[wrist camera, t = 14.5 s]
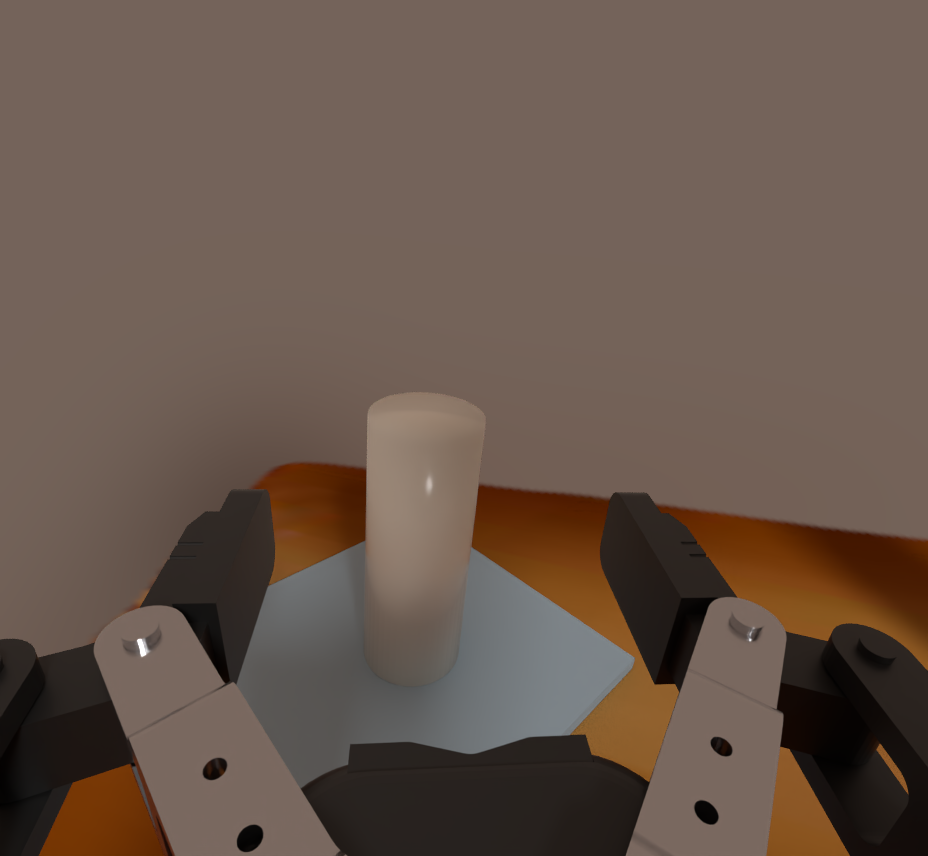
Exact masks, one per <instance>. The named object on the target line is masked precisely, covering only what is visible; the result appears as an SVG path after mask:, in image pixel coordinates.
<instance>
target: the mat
mask: <svg viewBox="0 0 928 856" xmlns="http://www.w3.org/2000/svg"><path fill="white" fill-rule="evenodd" d="M365 542H366V541H364V542H361V543H359V544H357V545H355V546H353V547H351V548H349V549H347V550H344V551H342V552H340V553H338V554H336V555H334V556H332V557H329V558H327V559H325V560H323V561H321V562H319V563H317V564H315V565H312V566H310V567H308V568H306V569H304V570H302V571H300V572H298V573H295V574H293V575H291V576H289V577H287V578H285V579H283V580H281V581H278V582H276V583H274V584H272V585H270V586H268V588H267V591H266V594H265V597H264V600H263V603H262V606H261V609H260V613H259V616H258V619H257V622H256V625H255V628H254V631H253V634H252V637H251V641H250V644H249V647H248V650H247V653H246V656H245V659H244V662H243V665H242V669H241V672H240V675H239V678H238V681H237V684H236V686H237V687H238V688H239V690H240V691H241V693H242V695H243V696H244V698H245V700H246V701H247V703H248V704H249V706H250V708H251V709H252V711H253V713H254V714H255V716H256V717H257V719H258V721H259V722H260V724H261V726H262V727H263V729H264V730H265V732H266V734H267V735H268V737H269V739H270V740H271V742H272V743H273V745H274V747H275V748H276V750H277V752H278V753H279V755H280V756H281V758H282V760H283V761H284V763H285V765H286V766H287V768H288V769H289V771H290V773H291V774H292V776H293V778H294V779H295V781H296V782H297V784H298V786H299V787H300V788H302V787H303V786H305V785H306V784H307V783H309V782H310V781H312V780H314V779H316V778H317V777H319V776H321V775H322V774H325V773H327V772H329V771H331V770H334V769H336V768H339V767H342V766H345V765H348V760H349V750H350V744H365V743H390V742H414V743H418V744H423V745H428V746H433V747H437V748H442V749H447V750H451V751H456V752H461V753H466V754H475V753H479V752H483V751H486V750H489V749H492V748H495V747H499V746H502V745H505V744H508V743H511V742H515V741H518V740H521V739H524V738H527V737H538V736H563V735H570V734H571V733H572V732H573V731H574V729H575V728H576V727H577V726H578V725H579V724H580V723H581V722H582V721H583V720H584V719H585V718H586V717H587V716H588V715H589V714H590V712H591V711H592V710H593V709H594V708H595V707H596V706H597V705H598V704H599V703H600V702H601V701H602V700H603V699H604V698H605V697H606V695H607V694H608V693H609V692H610V691H611V690H612V689H613V688H614V687H615V686H616V685H617V684H618V683H619V682H620V681H621V680H622V679H623V677H624V676H625V675H626V674H627V673H628V672H629V671H630V670H631V669H632V667H633V663H634V660H635V658H634V657H633V656H631V655H630V654H628V653H627V652H625V651H624V650H622V649H621V648H619V647H618V646H616V645H615V644H613V643H612V642H611V641H609V640H608V639H606V638H605V637H603V636H602V635H600V634H599V633H597V632H596V631H594V630H593V629H591V628H590V627H588V626H587V625H585V624H584V623H583V622H581V621H580V620H578V619H577V618H575V617H574V616H572V615H571V614H569V613H568V612H566V611H565V610H563V609H562V608H560V607H559V606H557V605H556V604H555V603H553V602H552V601H550V600H549V599H547V598H546V597H544V596H543V595H541V594H540V593H538V592H537V591H535V590H534V589H532V588H531V587H529V586H528V585H527V584H525V583H524V582H522V581H521V580H519V579H518V578H516V577H515V576H513V575H512V574H510V573H509V572H507V571H506V570H504V569H503V568H501V567H500V566H498V565H497V564H496V563H494V562H493V561H491V560H490V559H488V558H487V557H485V556H484V555H482V554H481V553H479V552H478V551H476V550H475V549H473V548H472V547H471V553H470V561H469V570H468V578H467V587H466V595H465V604H464V612H463V621H462V629H461V637H460V646H459V654H458V658H457V661H456V663H455V665H454V666H453V668H452V669H451V670H450V671H449V673H447V674H446V675H445V676H444V677H442V678H441V679H439V680H437V681H435V682H433V683H430V684H427V685H423V686H415V687H407V686H400V685H396V684H392V683H390V682H387V681H385V680H383V679H382V678H380V677H379V676H377V675H376V674H375V673H374V672H373V671H372V670H371V668H370V667H369V665H368V664H367V662H366V659H365V656H364V601H365Z"/></svg>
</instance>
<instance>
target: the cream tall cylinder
mask: <svg viewBox="0 0 928 856" xmlns="http://www.w3.org/2000/svg"><path fill="white" fill-rule="evenodd" d="M367 424H368V425H367V482H366V542H365V601H364V656H365V659H366V662H367V664H368V665H369V667H370V668H371V670H372V671H373V672H374V673H375V674H376V675H377V676H379V677H380V678H382V679H383V680H385V681H387V682H390V683H392V684H396V685H400V686H407V687H415V686H423V685H427V684H430V683H433V682H435V681H437V680H439V679H441V678H442V677H444V676H445V675H446V674H447V673H449V671H450V670H451V669H452V668H453V666H454V665H455V663H456V661H457V658H458V654H459V646H460V637H461V629H462V621H463V612H464V604H465V595H466V587H467V578H468V570H469V561H470V553H471V544H472V536H473V527H474V519H475V510H476V502H477V494H478V485H479V477H480V467H481V460H482V450H483V442H484V434H485V425H486V418H485V415H484V414H483V412H482V411H481V410H480V409H479V408H478V407H476V406H475V405H473V404H471V403H469V402H467V401H465V400H462V399H459V398H456V397H452V396H448V395H444V394H437V393H425V392H415V393H413V392H412V393H402V394H396V395H391V396H388V397H385V398H382V399H380V400H378V401H377V402H375V403H374V404H372V406H371V407H370V408H369V410H368V423H367Z"/></svg>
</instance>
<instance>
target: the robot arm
mask: <svg viewBox="0 0 928 856" xmlns="http://www.w3.org/2000/svg"><path fill="white" fill-rule="evenodd" d="M600 559H601V565H602V569H603V571H604V574H605V576H606V578H607V580H608V582H609V585H610V587H611V589H612V591H613V594H614V596H615V598H616V600H617V602H618V605H619V607H620V609H621V611H622V613H623V616H624V618H625V620H626V622H627V624H628V627H629V629H630V631H631V633H632V636H633V638H634V640H635V642H636V644H637V647H638V649H639V651H640V653H641V655H642V658H643V660H644V662H645V664H646V667H647V669H648V671H649V673H650V675H651V678H652V680H653V682H654V684H676V687H677V689H678V691H679V695H678V698H677V701H676V704H675V707H674V710H673V713H672V716H671V719H670V722H669V725H668V728H667V730H666V733H665V736H664V739H663V742H662V745H661V748H660V751H659V754H658V757H657V760H656V763H655V766H654V769H653V772H652V775H651V778H650V781H649V782H648V781H646V780H645V779H644V778H642V777H641V776H640V775H638V774H636V773H635V772H633V771H631V770H629V769H628V768H626V767H624V766H622V765H620V764H618V763H615V762H613V761H611V760H608V759H605V758H602V757H599V756H595V755H591V752H590V748H589V745H588V742H587V738H586V735H563V736H538V737H527V738H524V739H521V740H518V741H515V742H511V743H508V744H505V745H502V746H499V747H495V748H492V749H489V750H486V751H483V752H479V753H475V754H466V753H461V752H456V751H451V750H447V749H442V748H437V747H433V746H428V745H423V744H418V743H414V742H390V743H365V744H350V750H349V760H348V765H345V766H342V767H339V768H336V769H334V770H331V771H329V772H327V773H325V774H322V775H321V776H319V777H317V778H316V779H314V780H312V781H310V782H309V783H307V784H306V785H305V786H303V787H302V788H300V787H299V786H298V784H297V782H296V781H295V779H294V778H293V776H292V774H291V773H290V771H289V769H288V768H287V766H286V765H285V763H284V761H283V760H282V758H281V756H280V755H279V753H278V752H277V750H276V748H275V747H274V745H273V743H272V742H271V740H270V739H269V737H268V735H267V734H266V732H265V730H264V729H263V727H262V726H261V724H260V722H259V721H258V719H257V717H256V716H255V714H254V713H253V711H252V709H251V708H250V706H249V704H248V703H247V701H246V700H245V698H244V696H243V695H242V693H241V691H240V690H239V688H238V687H237V686H236V684H237V681H238V678H239V675H240V672H241V669H242V665H243V662H244V659H245V656H246V653H247V650H248V647H249V644H250V641H251V637H252V634H253V631H254V628H255V625H256V622H257V619H258V616H259V613H260V609H261V606H262V603H263V600H264V597H265V594H266V591H267V588H268V585H269V581H270V578H271V575H272V572H273V567H274V560H275V542H274V532H273V523H272V514H271V505H270V497H269V493H268V491H267V490H251V489H238V490H237V489H234V490H231V491H230V493H229V495H228V497H227V498H226V501H225V502H224V504H223V506H222V508H221V510H220V512H205V513H203V514H202V515H201V516H200V517H198V518H197V519H196V520H194V521H193V522H192V523H191V524H189V525H188V526H187V528H186V529H185V531H184V533H183V534H182V536H181V538H180V540H179V541H178V546H175V548H174V550H173V552H172V553H171V555H170V559H169V560H167V562H166V564H165V565H164V567H163V569H162V570H161V572H160V574H159V576H158V577H157V579H156V581H155V582H154V584H153V586H152V588H151V589H150V591H149V593H148V594H147V596H146V598H145V600H144V601H143V603H142V605H141V606H140V608H139V609H136V610H133V611H130V612H128V613H126V614H124V615H122V616H120V617H118V618H117V619H115V620H114V621H112V622H111V623H110V624H109V625H107V626H106V627H105V628H104V629H103V630H102V632H101V633H100V634H99V636H98V637H97V639H96V641H95V643H92V644H89V645H86V646H83V647H79V648H75V649H71V650H67V651H63V652H59V653H55V654H51V655H47V656H43V657H39V658H38V657H37V654H36V652H35V649H34V648H33V646H32V645H31V644H29V643H28V642H26V641H23V640H19V639H2V640H0V856H39V854H40V851H41V849H42V847H43V845H44V843H45V841H46V839H47V836H48V834H49V832H50V830H51V828H52V826H53V823H54V821H55V819H56V817H57V815H58V813H59V811H60V808H61V806H62V804H63V802H64V800H65V798H66V796H67V793H68V791H69V789H70V787H71V785H72V783H73V782H76V781H79V780H82V779H85V778H88V777H91V776H94V775H97V774H100V773H103V772H106V771H109V770H112V769H115V768H118V767H121V766H124V765H127V764H130V766H131V769H132V771H133V774H134V777H135V779H136V782H137V784H138V787H139V790H140V792H141V795H142V798H143V800H144V803H145V806H146V808H147V811H148V814H149V816H150V819H151V821H152V824H153V827H154V829H155V832H156V835H157V837H158V840H159V843H160V845H161V848H162V851H163V853H164V856H766V853H767V845H768V837H769V829H770V821H771V813H772V806H773V798H774V790H775V782H776V774H777V766H778V759H779V751H780V747H784V748H788V749H790V751H791V752H792V754H793V756H794V758H795V759H796V761H797V763H798V765H799V767H800V768H801V770H802V772H803V774H804V775H805V777H806V779H807V781H808V782H809V784H810V786H811V788H812V790H813V791H814V793H815V795H816V797H817V798H818V800H819V802H820V804H821V805H822V807H823V809H824V811H825V812H826V814H827V816H828V818H829V820H830V821H831V823H832V825H833V827H834V828H835V830H836V832H837V834H838V835H839V837H840V839H841V841H842V843H843V844H844V846H845V848H846V850H847V851H848V853H849V855H850V856H928V671H927V670H926V669H925V668H924V667H923V665H922V664H921V663H920V662H919V661H918V660H917V659H916V658H915V657H914V656H913V654H912V653H911V652H910V651H909V650H908V649H907V648H905V647H904V646H903V645H902V644H901V643H899V642H898V641H896V640H895V639H893V638H892V637H890V636H888V635H887V634H885V633H883V632H880V631H878V630H876V629H873V628H871V627H867V626H864V625H859V624H842V625H839V626H837V627H836V628H834V630H833V632H832V634H831V636H830V638H829V640H828V641H824V640H820V639H815V638H811V637H807V636H802V635H798V634H793V633H789V632H786V631H785V630H784V628H783V626H782V624H781V623H780V622H779V620H778V619H777V618H776V617H775V616H774V615H772V614H771V613H770V612H769V611H767V610H766V609H764V608H763V607H761V606H759V605H757V604H755V603H753V602H750V601H747V600H744V599H740V598H737V596H736V595H735V594H734V592H733V591H732V589H731V588H730V587H729V585H728V584H727V582H726V581H725V580H724V578H723V577H722V576H721V574H720V573H719V571H718V570H717V569H716V567H715V566H714V564H713V563H712V562H711V560H710V559H709V557H706V553H705V552H704V551H703V549H702V548H701V546H700V545H697V541H696V539H695V538H694V537H693V535H692V534H691V533H690V531H689V530H688V528H687V527H686V526H685V525H683V524H682V523H681V522H679V521H678V520H677V519H675V518H674V517H673V516H671V515H670V514H669V513H661V512H660V511H659V510H658V508H657V507H656V505H655V504H654V502H653V501H652V499H651V498H650V496H649V495H648V494H647V493H614V494H613V495H612V497H611V499H610V503H609V508H608V512H607V517H606V522H605V526H604V531H603V536H602V540H601V546H600ZM879 744H881V745H882V746H883V748H884V749H885V750H886V752H887V753H888V755H889V756H890V757H891V759H892V760H893V762H894V763H895V764H896V766H897V767H898V768H899V770H900V771H901V773H902V775H903V777H904V779H905V781H906V784H907V788H908V794H909V795H908V794H907V792H906V791H905V790H904V788H903V787H902V785H901V784H900V783H899V781H898V780H897V778H896V777H895V776H894V774H893V773H892V771H891V770H890V768H889V767H888V766H887V764H886V763H885V761H884V760H883V759H882V757H881V756H880V754H879V753H878V752H877V750H876V749H877V747H878V746H879Z"/></svg>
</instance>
